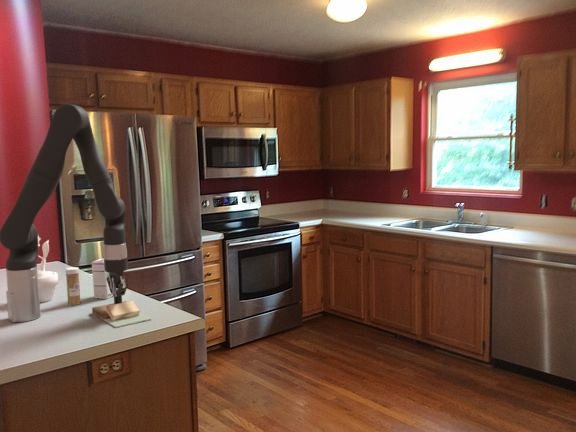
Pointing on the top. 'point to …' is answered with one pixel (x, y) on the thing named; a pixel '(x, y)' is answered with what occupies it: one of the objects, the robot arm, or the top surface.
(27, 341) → the top surface
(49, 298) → the potted plant
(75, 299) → the sprinkles bottle
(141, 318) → the rubber mat
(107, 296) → the syrup box
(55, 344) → the top surface
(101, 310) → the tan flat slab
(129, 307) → the maple tile
